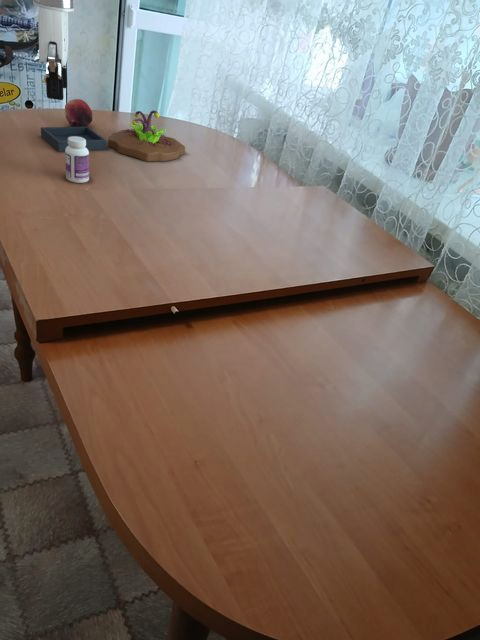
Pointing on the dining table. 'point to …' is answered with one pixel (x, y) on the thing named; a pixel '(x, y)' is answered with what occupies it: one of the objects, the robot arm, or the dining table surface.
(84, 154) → the pill bottle
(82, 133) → the tray
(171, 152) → the plant
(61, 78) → the robot arm
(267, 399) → the dining table surface
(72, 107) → the fruit
